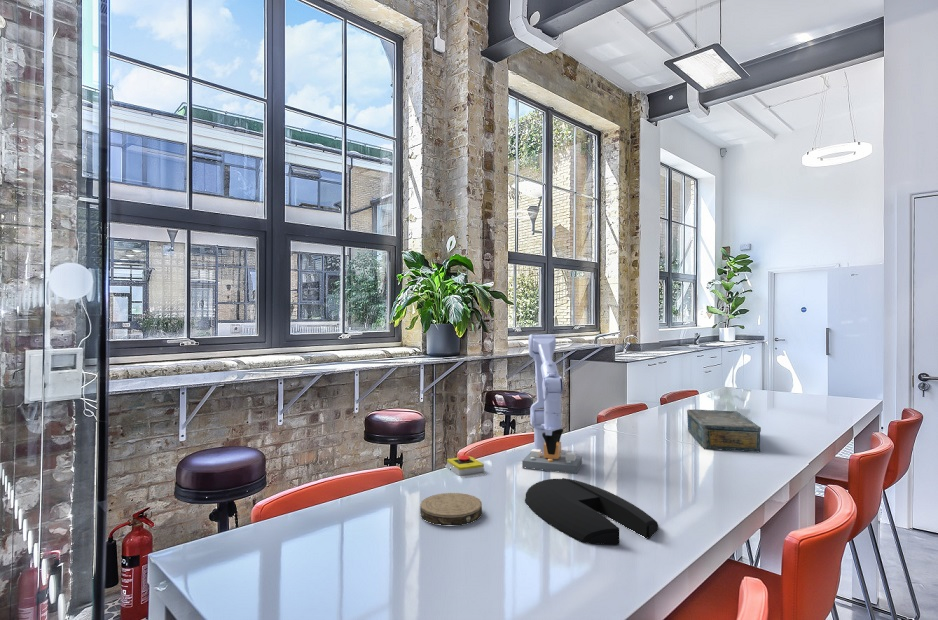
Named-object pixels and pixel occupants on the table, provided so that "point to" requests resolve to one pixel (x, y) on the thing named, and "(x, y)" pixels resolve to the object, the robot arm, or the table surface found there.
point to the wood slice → (451, 509)
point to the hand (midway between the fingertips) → (553, 452)
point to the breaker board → (553, 462)
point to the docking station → (586, 511)
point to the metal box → (723, 430)
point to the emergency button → (465, 466)
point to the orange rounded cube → (557, 451)
